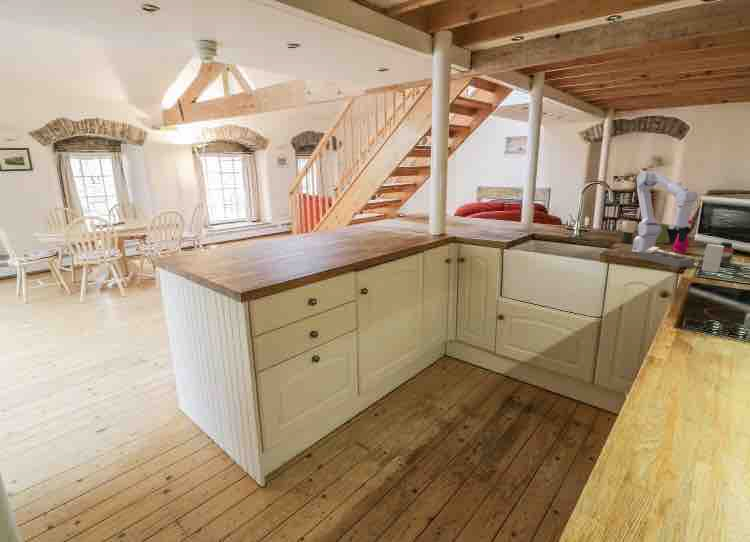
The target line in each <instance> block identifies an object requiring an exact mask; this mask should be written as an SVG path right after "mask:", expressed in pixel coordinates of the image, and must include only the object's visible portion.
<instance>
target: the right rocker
mask: <svg viewBox="0 0 750 542" xmlns="http://www.w3.org/2000/svg"><path fill="white" fill-rule="evenodd" d="M668 252H669V254H671V255H674V256H678V257H682V256H683V255H682V254H681V253H675V252H673V251H668Z"/></svg>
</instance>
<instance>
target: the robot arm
mask: <svg viewBox="0 0 750 542" xmlns="http://www.w3.org/2000/svg"><path fill="white" fill-rule="evenodd" d="M636 184H637V185H636V186H637V187H636V190H637V197H638V202H639V203H638V204H639V210H640V215H641V221H640V222H639V223H638V224H637V225H639V228H638V230H637V233H638V235H637V236H635V238H634V241H633V244H632V249H631V252H632V253H636V252H637V254H638V251H646V250H647V249H649V248H651V247H653V246H654V247H656V243H655V242H656V238H658V236H659V235H660V234H661V232H662V228H661V226H660V225H659V224H660V222H659V221H658V220H657V219H656V218H655V215H654V208H653V203H652V197H651V192H650V190H651V189H652V188H653V187H655V186H656V185H657V184H659V185H660V186H663V187H664V188H666V189H667V193H669V194H671V196H674V197H675V200H676V205H677V206H676V211H675V215H674V220H673V223H671V224H669V228H667V232H668V235H669V237H668V243H670V244H672V245H673V244H674V243H675V241H676V238H677V237H678V235H679V237H678V242H684V241H685V239H686V237H687V235H688V236H689V234H690V232H692V230H693V228H692V227H691V224H688V221H689V220H690V216H691V212H692V209H693V204H694V202H696V200H697V199H698V196H699V194H698V193H697V191H696V190H693V189H691V190H690V189H689V188H688V187H685V186H684V185H682V183H681V182H679V181H678V182H675V181H674V182H673V181H671V180H670V179H669V178H668V177H667V176H666V175H664V173H662V172H661V171H659V170H655V171H654V170H653V171H652V170H651V171H650V170H641V171H640V172H639V173H638V174H637V176H636Z"/></svg>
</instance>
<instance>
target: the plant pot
mask: <svg viewBox="0 0 750 542" xmlns="http://www.w3.org/2000/svg"><path fill="white" fill-rule="evenodd" d="M659 225H660V226H661V228H662V232H661V234H660V235H659V236H658V238H656V242H655V244H656V243H657V244H659V245H660V244H663V245H664V244H666V243H667V242H668V240H669V235H668V232H667V228H669V225H670V224H667V223H659Z"/></svg>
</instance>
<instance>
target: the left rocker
mask: <svg viewBox="0 0 750 542" xmlns="http://www.w3.org/2000/svg"><path fill="white" fill-rule="evenodd" d="M658 249H659V250H660V247H659V246H655V247H654V246H653V247H651V248H649V249H647V250H646V252H648V253H653V252H655V251H657V250H658Z"/></svg>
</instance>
